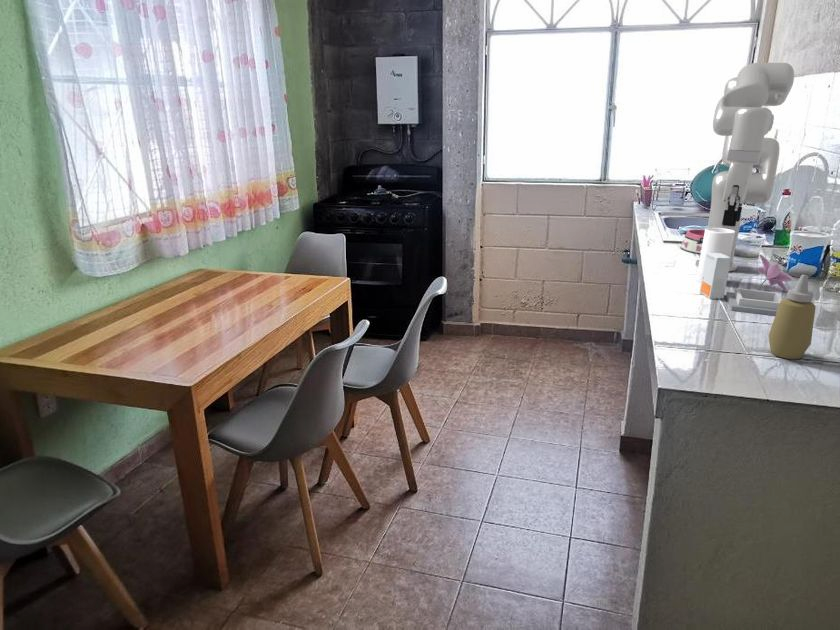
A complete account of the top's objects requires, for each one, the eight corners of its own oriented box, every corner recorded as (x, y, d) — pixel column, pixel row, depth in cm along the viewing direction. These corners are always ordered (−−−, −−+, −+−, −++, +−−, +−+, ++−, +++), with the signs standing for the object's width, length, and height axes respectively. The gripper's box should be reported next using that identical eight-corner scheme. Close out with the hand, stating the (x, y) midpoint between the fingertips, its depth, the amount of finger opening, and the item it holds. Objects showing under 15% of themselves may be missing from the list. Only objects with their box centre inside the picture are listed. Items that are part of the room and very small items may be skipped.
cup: (719, 278, 191) (729, 228, 186) (729, 285, 183) (739, 233, 178) (692, 277, 192) (701, 226, 186) (701, 284, 184) (710, 232, 179)
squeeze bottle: (756, 347, 136) (774, 270, 130) (790, 347, 137) (809, 270, 131) (779, 362, 128) (799, 280, 122) (815, 362, 129) (837, 280, 123)
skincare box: (698, 292, 175) (706, 252, 171) (712, 292, 176) (720, 252, 172) (709, 299, 170) (717, 257, 166) (724, 299, 170) (732, 257, 166)
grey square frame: (725, 295, 173) (727, 285, 172) (781, 302, 169) (783, 291, 168) (731, 310, 161) (733, 299, 160) (790, 317, 156) (793, 306, 155)
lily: (790, 301, 173) (807, 271, 172) (752, 282, 174) (769, 252, 174) (771, 301, 185) (786, 273, 184) (735, 283, 186) (751, 256, 185)
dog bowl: (735, 249, 232) (739, 232, 229) (730, 259, 216) (734, 240, 214) (684, 243, 240) (686, 226, 238) (676, 252, 225) (679, 234, 223)
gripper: (731, 155, 166) (719, 217, 172) (723, 158, 152) (710, 226, 158) (762, 157, 162) (749, 220, 168) (756, 160, 149) (743, 229, 154)
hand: (730, 223), depth 163 cm, fingers open, 9 cm apart
